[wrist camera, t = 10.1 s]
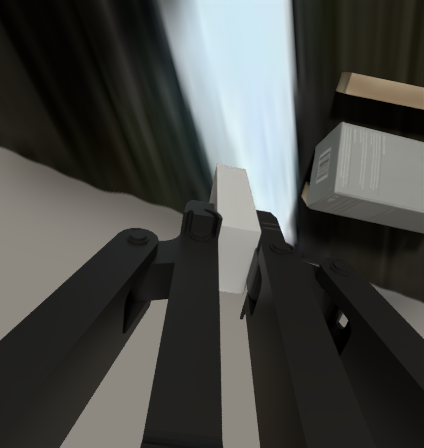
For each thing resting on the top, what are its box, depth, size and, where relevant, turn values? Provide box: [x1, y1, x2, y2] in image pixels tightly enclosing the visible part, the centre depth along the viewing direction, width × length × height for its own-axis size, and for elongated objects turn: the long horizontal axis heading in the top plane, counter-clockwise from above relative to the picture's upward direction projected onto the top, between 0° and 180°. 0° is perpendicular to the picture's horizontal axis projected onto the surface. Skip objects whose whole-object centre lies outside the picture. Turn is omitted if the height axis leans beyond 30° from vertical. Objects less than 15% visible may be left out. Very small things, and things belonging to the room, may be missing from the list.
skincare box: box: [307, 122, 424, 233], centre depth 37 cm, size 8×7×16 cm
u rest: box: [301, 72, 424, 205], centre depth 38 cm, size 15×18×5 cm
